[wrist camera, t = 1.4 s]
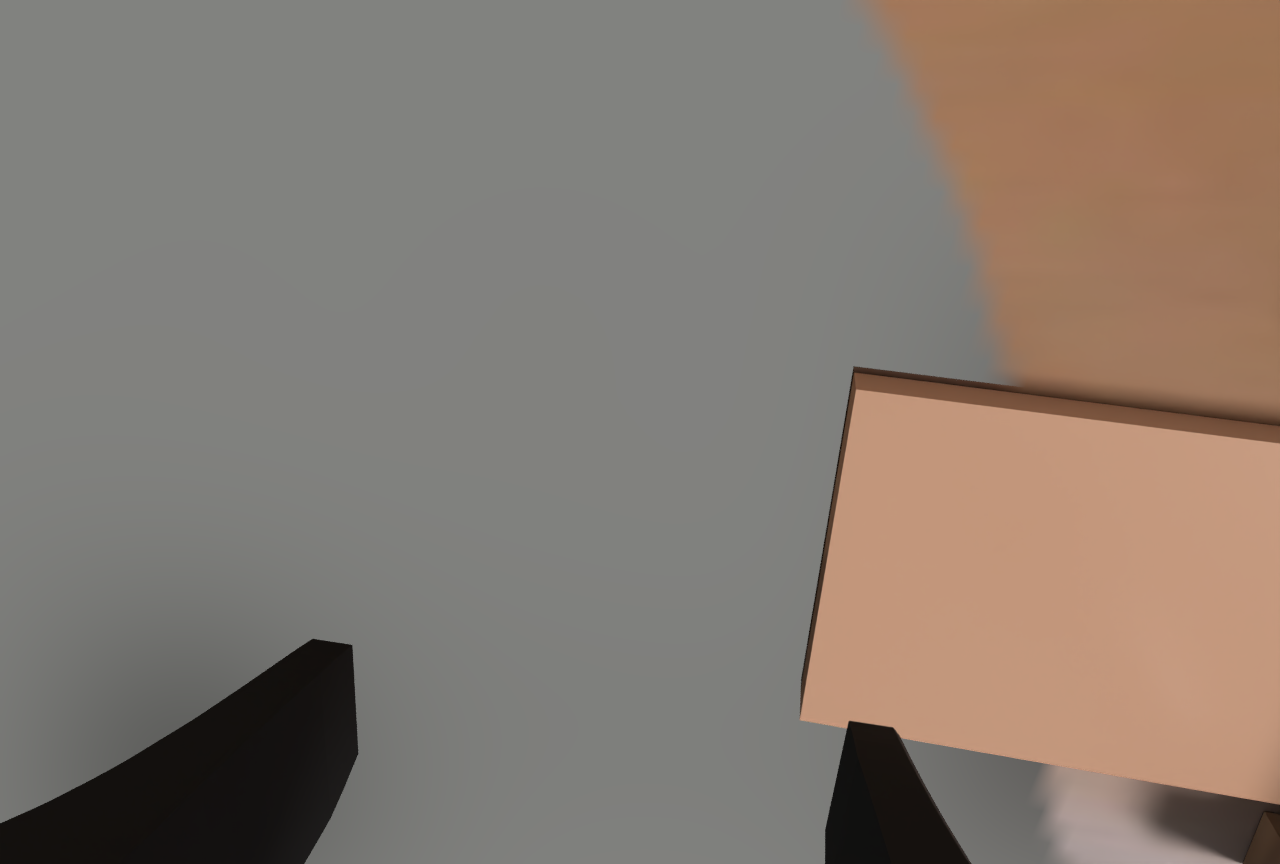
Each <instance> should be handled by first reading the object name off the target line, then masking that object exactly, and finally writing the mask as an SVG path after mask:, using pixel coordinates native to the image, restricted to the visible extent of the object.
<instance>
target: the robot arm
mask: <svg viewBox="0 0 1280 864" xmlns="http://www.w3.org/2000/svg"><path fill="white" fill-rule="evenodd" d="M356 723H357V722H356V704H355V686H354V667H353V650H352V645H349V644H343V643H336V642H330V641H323V640H317V639H312V640H310V641H309V642H307V643H306V644H304V645H302V646H301V647H299V648H298V649H296V650H295V651H294V652H292V653H291V654H289V655H288V656H286V657H285V658H283V659H282V660H280V661H279V662H278V663H276V664H275V665H273V666H272V667H271V668H269V669H267V670H266V671H265V672H263V673H262V674H260V675H259V676H258V677H256V678H254V679H253V680H252V681H250V682H249V683H247V684H246V685H244V686H243V687H241V688H240V689H238V690H237V691H236V692H234V693H233V694H231V695H229V696H228V697H227V698H225V699H223V700H222V701H221V702H219V703H218V704H216V705H215V706H213V707H212V708H210V709H209V710H207V711H206V712H204V713H203V714H201V715H200V716H198V717H197V718H195V719H193V720H192V721H190V722H189V723H187V724H185V725H184V726H182V727H181V728H179V729H177V730H176V731H174V732H172V733H171V734H169V735H167V736H166V737H164V738H163V739H161V740H159V741H158V742H156V743H154V744H153V745H151V746H150V747H148V748H146V749H145V750H143V751H141V752H140V753H138V754H136V755H135V756H133V757H131V758H130V759H128V760H126V761H125V762H123V763H121V764H119V765H117V766H116V767H114V768H112V769H111V770H109V771H107V772H105V773H103V774H101V775H99V776H98V777H96V778H94V779H92V780H90V781H88V782H86V783H85V784H82V785H81V786H78V787H76V788H75V789H72V790H71V791H69V792H67V793H65V794H63V795H61V796H59V797H57V798H55V799H53V800H51V801H49V802H47V803H45V804H43V805H41V806H38V807H36V808H34V809H32V810H30V811H28V812H25V813H23V814H21V815H18V816H16V817H14V818H12V819H9V820H7V821H5V822H2V823H0V864H304V863H305V862H306V859H307V858H308V856H309V855H310V853H311V851H312V849H313V848H314V846H315V844H316V843H317V841H318V839H319V837H320V836H321V834H322V832H323V830H324V829H325V827H326V825H327V823H328V821H329V820H330V818H331V816H332V813H333V811H334V809H335V807H336V805H337V802H338V800H339V798H340V796H341V794H342V791H343V789H344V786H345V784H346V782H347V779H348V777H349V775H350V772H351V770H352V767H353V765H354V762H355V760H356V757H357V755H358V741H357V724H356ZM825 864H971V862H970V861H969V860H968V858H967V856H966V854H965V853H964V851H963V849H962V848H961V846H960V845H959V843H958V841H957V840H956V838H955V836H954V835H953V833H952V831H951V830H950V828H949V827H948V825H947V823H946V822H945V820H944V818H943V816H942V815H941V813H940V811H939V809H938V808H937V806H936V804H935V802H934V801H933V799H932V797H931V795H930V793H929V792H928V790H927V788H926V786H925V784H924V783H923V781H922V779H921V777H920V775H919V773H918V771H917V769H916V767H915V765H914V764H913V762H912V760H911V758H910V756H909V754H908V752H907V750H906V748H905V746H904V744H903V742H902V740H901V738H900V735H899V734H898V733H897V732H896V730H895V729H894V728H893V727H888V726H881V725H875V724H868V723H862V722H855V721H849V722H848V727H847V731H846V736H845V741H844V746H843V750H842V755H841V759H840V765H839V769H838V774H837V778H836V783H835V787H834V792H833V797H832V801H831V806H830V810H829V815H828V820H827V825H826V829H825Z"/></svg>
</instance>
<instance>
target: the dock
mask: <svg viewBox="0 0 1280 864" xmlns="http://www.w3.org/2000/svg"><path fill="white" fill-rule="evenodd" d="M1243 864H1280V814H1275V813H1269V812H1264V813H1263V816H1262V818H1261V821H1260V823H1259V825H1258V828H1257V830H1256V833H1255V835H1254V837H1253V840H1252V842H1251V845H1250V847H1249V850H1248V852H1247V854H1246V857H1245V859H1244V862H1243Z"/></svg>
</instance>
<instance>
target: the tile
mask: <svg viewBox="0 0 1280 864" xmlns="http://www.w3.org/2000/svg"><path fill="white" fill-rule="evenodd" d="M800 720H802V721H807V722H813V723H819V724H824V725H830V726H836V727H841V728H847V727H848V722H849V721H855V722H862V723H868V724H875V725H881V726H888V727H893V728H894V729H895V730H896V732H897V733H898V734H899V735H900V738H904V739H909V740H915V741H921V742H927V743H932V744H938V745H944V746H950V747H955V748H961V749H966V750H972V751H978V752H984V753H989V754H995V755H1000V756H1007V757H1012V758H1017V759H1023V760H1029V761H1035V762H1040V763H1046V764H1052V765H1057V766H1063V767H1069V768H1074V769H1080V770H1086V771H1091V772H1097V773H1103V774H1108V775H1114V776H1120V777H1125V778H1131V779H1137V780H1143V781H1148V782H1154V783H1160V784H1165V785H1171V786H1177V787H1182V788H1188V789H1194V790H1199V791H1205V792H1211V793H1216V794H1222V795H1228V796H1233V797H1239V798H1245V799H1251V800H1256V801H1262V802H1268V803H1273V804H1279V805H1280V426H1274V425H1266V424H1258V423H1251V422H1243V421H1235V420H1227V419H1219V418H1211V417H1203V416H1195V415H1187V414H1179V413H1171V412H1163V411H1155V410H1147V409H1139V408H1132V407H1124V406H1116V405H1108V404H1100V403H1092V402H1084V401H1076V400H1068V399H1060V398H1052V397H1044V396H1036V395H1028V394H1021V393H1013V392H1011V391H1010V386H1009V385H1001V384H993V383H985V382H976V381H968V380H960V379H952V378H944V377H936V376H928V375H920V374H912V373H904V372H896V371H888V370H880V369H872V368H863V367H855V366H853V373H852V379H851V384H850V391H849V397H848V402H847V408H846V414H845V421H844V426H843V432H842V438H841V444H840V450H839V456H838V462H837V468H836V474H835V480H834V486H833V492H832V499H831V504H830V510H829V516H828V522H827V528H826V533H825V539H824V545H823V552H822V557H821V563H820V570H819V575H818V581H817V587H816V593H815V599H814V605H813V611H812V617H811V623H810V629H809V635H808V641H807V647H806V653H805V659H804V666H803V671H802V677H801V698H800Z"/></svg>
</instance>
